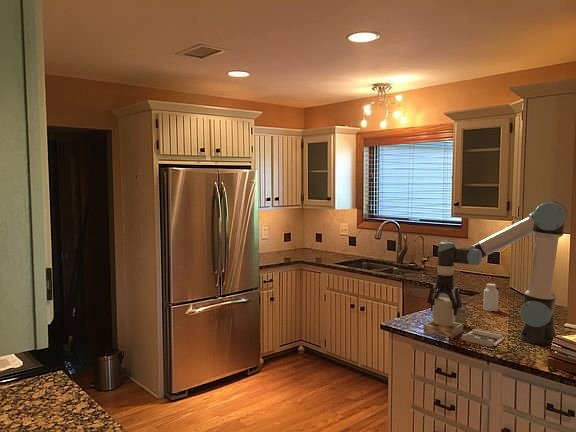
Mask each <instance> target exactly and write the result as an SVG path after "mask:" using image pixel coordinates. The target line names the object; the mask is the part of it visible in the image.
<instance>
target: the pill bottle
mask: <svg viewBox="0 0 576 432" xmlns="http://www.w3.org/2000/svg"><path fill="white" fill-rule="evenodd" d="M485 287H486V288H484V289H483V302H482V303H483V306H482V309H483V311H486V312H491V311H495V312H498V311H499V294H500V293H499V291H500V290H498V289H497V284H495V283H485Z"/></svg>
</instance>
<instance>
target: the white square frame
mask: <svg viewBox="0 0 576 432" xmlns="http://www.w3.org/2000/svg"><path fill="white" fill-rule="evenodd" d="M476 335H477V336H476ZM478 335H479V336H478ZM461 338H462V339H461ZM491 338H493V339H497V341H495V342H494V340H493V339H491ZM460 339H461V340H462V341H463V340H465V341H464V342H468V343H472V344H478V345H481V344H482V345H481V346H486V347H491V348H492V347H493V346H494V347H496V346H498V345H499V344H500V343H502V342H503V341H504V340H505V338H504V337H503V335H502V334H499V333H494V332H489V331H484V330H479V329H472V330H470V331H468V332H467V333H462V335H461V337H460Z"/></svg>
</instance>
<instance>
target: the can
mask: <svg viewBox="0 0 576 432" xmlns="http://www.w3.org/2000/svg"><path fill="white" fill-rule="evenodd" d="M452 309H453V306H452V301H450V298H445V297H438V298H437V299H435V306H434V319H433V320H434V323H436V324H438V325H445V326H449V325H453V323H452V322H451V319H452Z"/></svg>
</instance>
